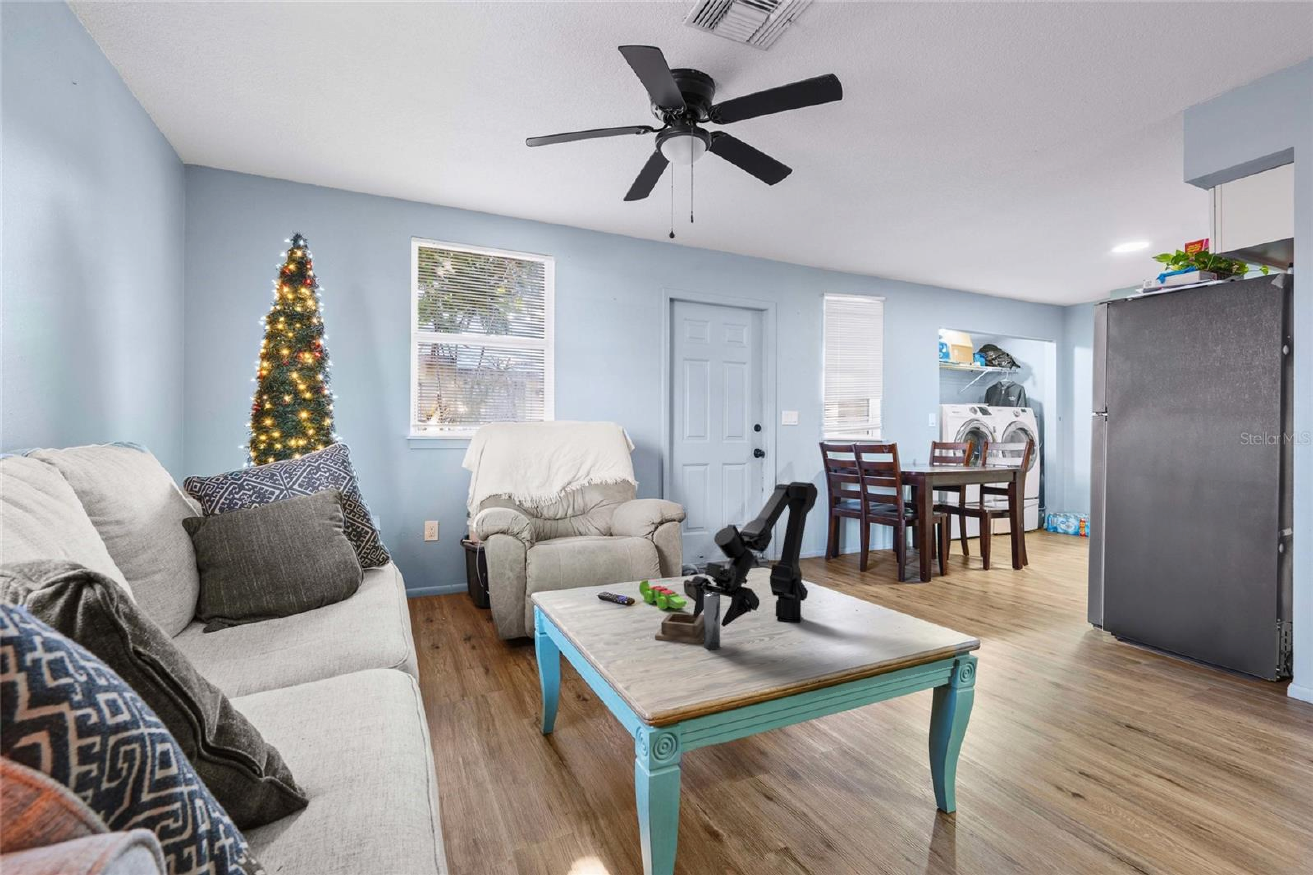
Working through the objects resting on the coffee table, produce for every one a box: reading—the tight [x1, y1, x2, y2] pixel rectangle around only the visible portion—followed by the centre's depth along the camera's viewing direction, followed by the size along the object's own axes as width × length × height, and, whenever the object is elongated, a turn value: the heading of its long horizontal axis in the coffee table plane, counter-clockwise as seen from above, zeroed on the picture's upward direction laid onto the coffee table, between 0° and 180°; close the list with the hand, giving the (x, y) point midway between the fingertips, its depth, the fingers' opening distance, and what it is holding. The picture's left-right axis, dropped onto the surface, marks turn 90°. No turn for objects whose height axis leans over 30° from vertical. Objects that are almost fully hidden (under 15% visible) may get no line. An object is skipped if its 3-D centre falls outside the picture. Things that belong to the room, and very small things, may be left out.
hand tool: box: [683, 579, 696, 601], centre depth 190 cm, size 19×4×5 cm, turn 17°
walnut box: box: [654, 611, 704, 645], centre depth 157 cm, size 12×12×4 cm
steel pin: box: [703, 592, 721, 651], centre depth 147 cm, size 4×4×13 cm
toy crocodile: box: [638, 579, 687, 611], centre depth 184 cm, size 20×7×6 cm, turn 34°
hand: (708, 621), depth 146 cm, fingers open, 9 cm apart
